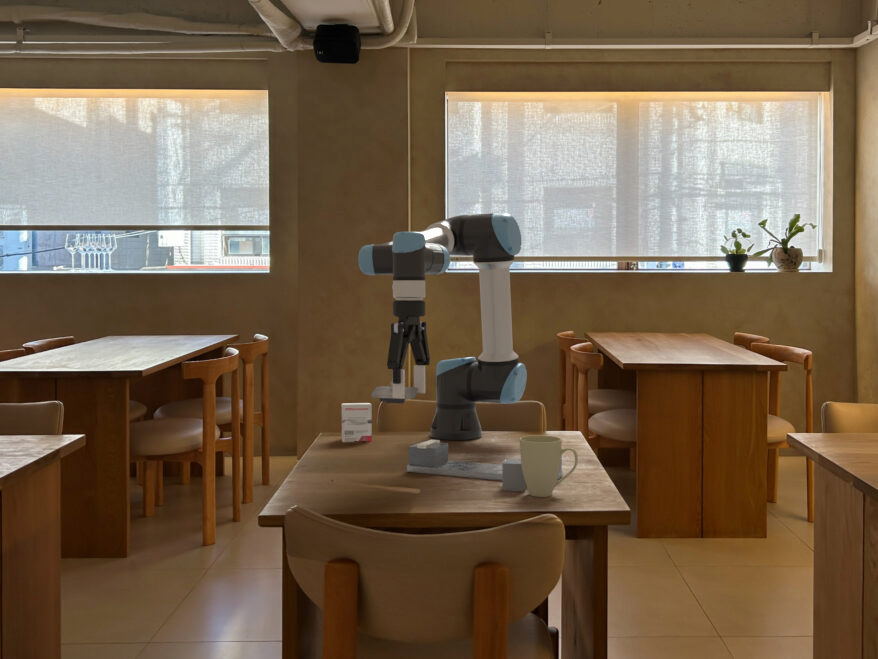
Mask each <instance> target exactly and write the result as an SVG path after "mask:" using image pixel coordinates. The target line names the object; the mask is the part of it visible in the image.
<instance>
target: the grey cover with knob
mask: <svg viewBox="0 0 878 659" xmlns="http://www.w3.org/2000/svg"><path fill="white" fill-rule="evenodd" d="M389 382H390V383H389V384H390V385H389V386H388V385H387V386H383V385H382V386H380V385H379V386H376V387H375V389H374V390H373V391H372V393H371V394H370V395H371V397H370V398H373V399H376V398H378V399H379V402H380V403H386V404H403V405H404V404H405V402H406V400H413V399H415V398H416V396H417V394H418V393H417V392H418V388H416V387H414V386H412V387H411V386H405V398H404V399H401V398H393V389H392V380H391V381H389Z"/></svg>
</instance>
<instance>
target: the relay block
mask: <svg viewBox="0 0 878 659" xmlns="http://www.w3.org/2000/svg"><path fill="white" fill-rule="evenodd" d="M501 465H502V484H501V485H502V487H501V489H502V491H509V492H510V491H511V492H515V491H516V492H526V490H527V486H526V482H525V479H524V476H523V472H522V467H521V459H515V458H514V459H512V458H510V459H508V458H504V459H503V460H502V463H501Z"/></svg>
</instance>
